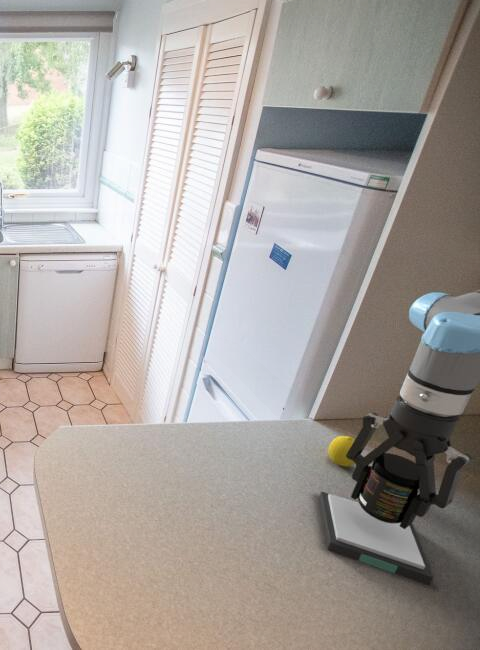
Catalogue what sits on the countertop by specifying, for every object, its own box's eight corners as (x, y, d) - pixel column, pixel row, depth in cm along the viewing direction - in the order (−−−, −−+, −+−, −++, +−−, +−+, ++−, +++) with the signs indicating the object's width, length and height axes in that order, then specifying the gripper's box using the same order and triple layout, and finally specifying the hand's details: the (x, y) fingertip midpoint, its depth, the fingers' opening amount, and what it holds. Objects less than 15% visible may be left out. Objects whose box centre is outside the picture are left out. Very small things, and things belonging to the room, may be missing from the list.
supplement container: (414, 528, 79) (437, 482, 75) (370, 522, 80) (390, 477, 76) (389, 499, 85) (409, 455, 81) (348, 494, 87) (366, 450, 82)
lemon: (350, 477, 100) (362, 448, 97) (320, 464, 104) (331, 436, 101) (357, 466, 103) (368, 438, 100) (328, 453, 107) (338, 426, 104)
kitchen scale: (405, 527, 88) (411, 515, 87) (428, 587, 77) (435, 574, 76) (317, 500, 94) (322, 488, 93) (326, 551, 83) (331, 539, 82)
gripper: (347, 382, 80) (310, 481, 89) (505, 447, 64) (441, 561, 73) (369, 371, 83) (331, 469, 92) (525, 431, 67) (461, 542, 76)
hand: (380, 509), depth 83 cm, fingers closed on supplement container, 7 cm apart
